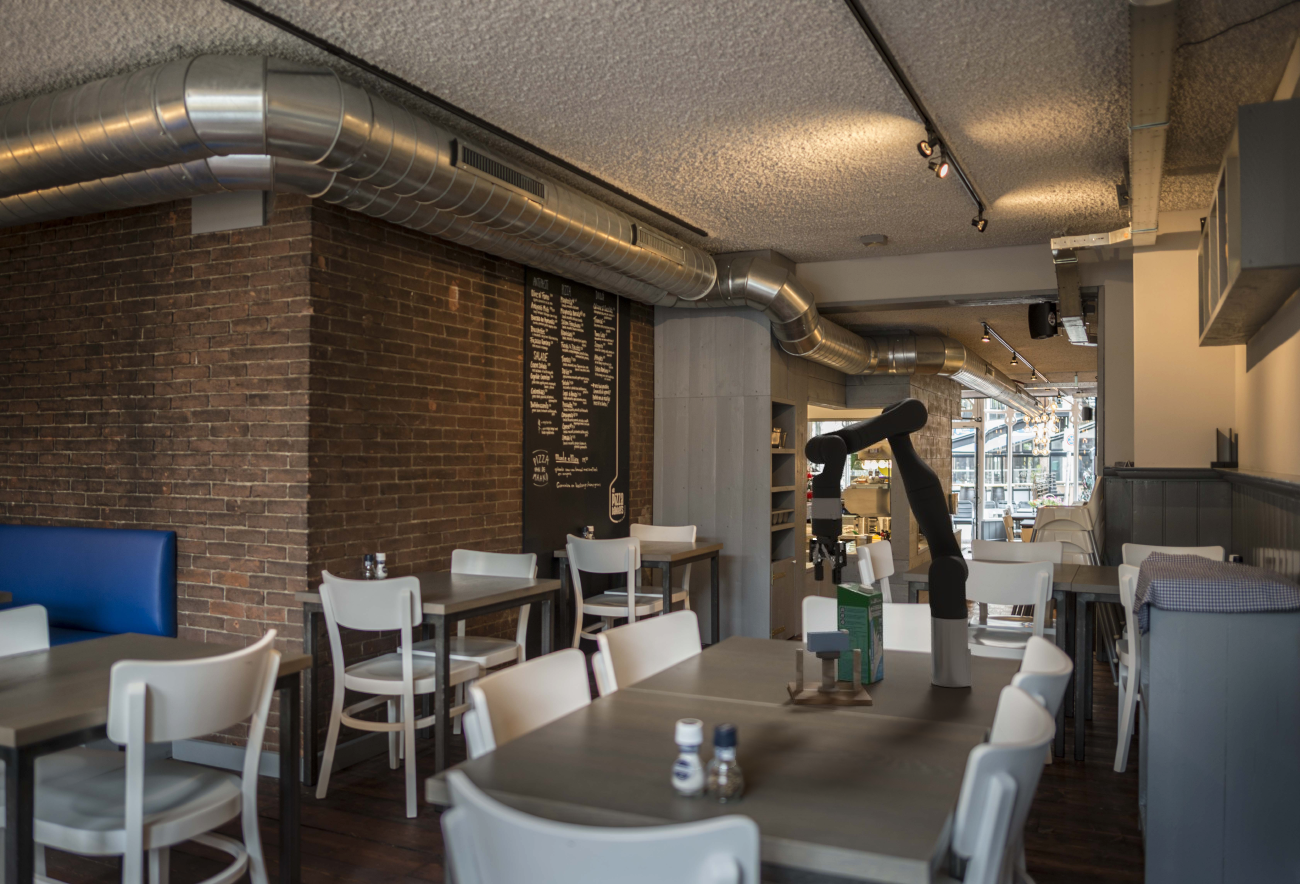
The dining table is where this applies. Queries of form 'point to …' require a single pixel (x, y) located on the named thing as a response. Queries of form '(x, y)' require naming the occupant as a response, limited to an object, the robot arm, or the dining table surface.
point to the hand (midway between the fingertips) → (827, 582)
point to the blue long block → (828, 643)
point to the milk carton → (861, 630)
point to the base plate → (829, 696)
